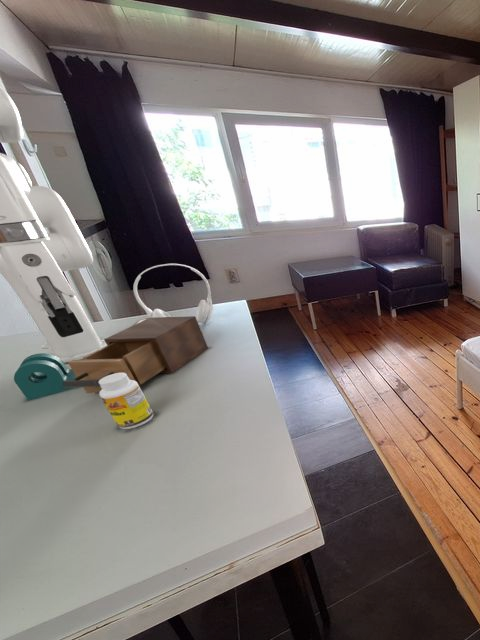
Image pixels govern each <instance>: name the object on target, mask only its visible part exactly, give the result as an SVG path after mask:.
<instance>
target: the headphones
mask: <svg viewBox="0 0 480 640" xmlns="http://www.w3.org/2000/svg"><path fill="white" fill-rule="evenodd" d="M165 266H180V267H185V268H188V269H190V271H192V272H194V273H196V274H197V275H198V276H199V277H200V278H201V279H202V280H203V282H204V283H205V286H206V289H207V297H206V299H201V300H200V301H199V303H198V306H197V308H196V312H195V317H196V320H197V322H198V324H204V325H205V324H208V323H209V322H210V320H211V318H212V315H213V312H214V311H213V310H214V306H213V300H212V294H211V287H210V284H209V281H208V279H207V278H206V277H205V275H204V274H203V273H202V272H200V271H199V270H198V269H196V268H194V267H192V266H189V265H186V264H181V263H164V264H157V265H154V266H151V267H149V268H146V269H145V270H143V271H142V272H140V273H139V274H138V275H137V277H136V278H135V279H134V282H133V295H134V298H135V299H136V301H137V303H138V305H140V307H142V309H143V310H144V311H145V314H146V315H147V316H148V318H156V317H173V316H172V315H170V314H169V313H168V312H166V311H164V310H162V309H160V308H154V309H153V310H152V309H150V308H149V307H147V305H146V304H145V303H144V302H143V300H142V299H141V298H140V295H139V292H138V284H139V281H140V280H141V278H142V275H143V274H145V273H147V272H148V271H150V270H152V269H155V268H159V267H165Z"/></svg>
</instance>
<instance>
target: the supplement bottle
mask: <svg viewBox="0 0 480 640" xmlns="http://www.w3.org/2000/svg"><path fill="white" fill-rule="evenodd" d="M99 384H100V386H101V388H102V390H101V391H100V393H98V395H99V397H100V399H101V400H102V402H103V404H104V405H105V407H106V409H107V411H108V412H109V414H110V416H111V417H112V419H113V420H114V422H115V424H116V425H117V427H118V428H119V429H123V430H131V429H134V428H135V429H136V428H139V427H140V426H143V425H145V424H146V423H149V422H150V421H151V420H152V419H153V417H154V411H153V410H152V408H151V405H150V404H149V402H148V399H147V398H146V397H145V394H144V392H143V390H142V388H141V387H140V385H138V383H137V382H136V381H134V380H130V379H129V378H128V376H127V375H126V373H115V374H111V375H108V376H106V377H104V378H102V379H101V380H99Z"/></svg>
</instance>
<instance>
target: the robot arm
mask: <svg viewBox="0 0 480 640" xmlns="http://www.w3.org/2000/svg"><path fill="white" fill-rule="evenodd" d="M22 125H23V124H22V118H21V114H20V112H19V108H18V107H17V105H16V103H15V102H14V100H13V99H12V97H11V96H10V95H9V93H8V92H7V91H6V89H4V88H3V87H1V85H0V144H4V143H5V144H10V143H13V144H15V143H18V142H20V141H22V140H23V139H24V130H23V126H22ZM45 228H48V229H52V230H54V231H55V232H47V231H46V230H45ZM93 263H94V257H93V253H92V251H91V249H90V247H89V245H88V243H87V242H86V239H85V238H84V235H83V234H82V232H81V229H80V228H79V226H78V224H77V223H76V220H75V218H74V216H73V214H72V213H71V210H70V209H69V207H68V206H67V204H66V202H65V201H64V199H63V198H62V197H61V195H60V194H59V193H57V192H56V190H54V189H52V188H50V187H47V186H43V185H33V182H32V180H31V178H30V175H29V173H28V172H27V170H26V169H25V167H24V166H23V165H22V163H20V162H18V161H16V160H15V159H13V158H12V157H10V156H9V155H7V154H5V153H3V152H0V275H1V276H2V277H3V278H4V279H5V281H6V282H7V283H8V284H9V285H10V287H11V288H12V290H13V291H14V292H15V294H16V295H17V297H18V299H19V300H20V302H21V303H22V304H23V306H24V307H25V309H26V311H27V313H28V314H29V316H30V317H31V319H32V320H33V322H34V324H35V325H36V326H37V328H38V330H39V332H40V333H41V334H42V336H43V338H44V340H45V341H44V342H45V343H42V344H41V345H40V348H41V349H42V350H49V351H50V352H51V353H50V354H52V355H55V356H57V357H59V358H60V359H61V360H62V361H63V362H64V364H65V363H68V362H70V361H72V360H84V359H83V357H85V356H87V355H89V354H91V353H93V352H95V351H97V350H99V349H101V348H103V347H105V346H107V344H106V342H105V340H104V339H100V337H99V335H98V334H97V332H96V330H95V328H94V326H93V324H92V323H91V320H90V318H88V315H87V314H86V312H85V310H84V309H83V306H82V305H81V303H80V301H79V300H78V298H77V295H76V293H75V291H74V290H73V288H72V286H71V285H70V283H69V282H68V280H67V278H66V277H65V275H64V273H63V272H69V271H74V270H80V269H84V268H88V267H90V266H92V264H93Z"/></svg>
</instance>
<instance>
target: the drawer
mask: <svg viewBox="0 0 480 640" xmlns="http://www.w3.org/2000/svg"><path fill="white" fill-rule="evenodd" d="M67 365H68V366H69V367H70V370H71V369H72V371H73V372H74V374H75V375H76V378H74V379H72V380H70V381H64V382H63V383H62V386H63V387H75V388H83V390H84V392H85V393H86V394H95V393H96V394H97V393H98V394H99V393H100V391H101V390H102V388H101V386H100V384H99V380H101V379H102V378H104V377H106V376H108V375H111V374H115V373H126V375H127V376H128V378H129V379H130V380H134V381H136V382H137V383H138V385H139V386H140V385H143V384H145V383H146V382H147V381H148V380H151V379H152V378H153V377H155V376H156V375H158V374H160V373H159V372H161V371H162V370H164V369H165V368H166V366H165V364H164V361H163V359H162V357H161V355H160V353H159V351H158V349H157V347H156V345H155V343H154V341H132V342H113V343H111V344H109V345H107V346H105V347H103V348H101V349H99V350H97V351H95V352H93V353H91V354H89V355H87V356H85V357H83V359H80V360H72V361H70V362H67Z"/></svg>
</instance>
